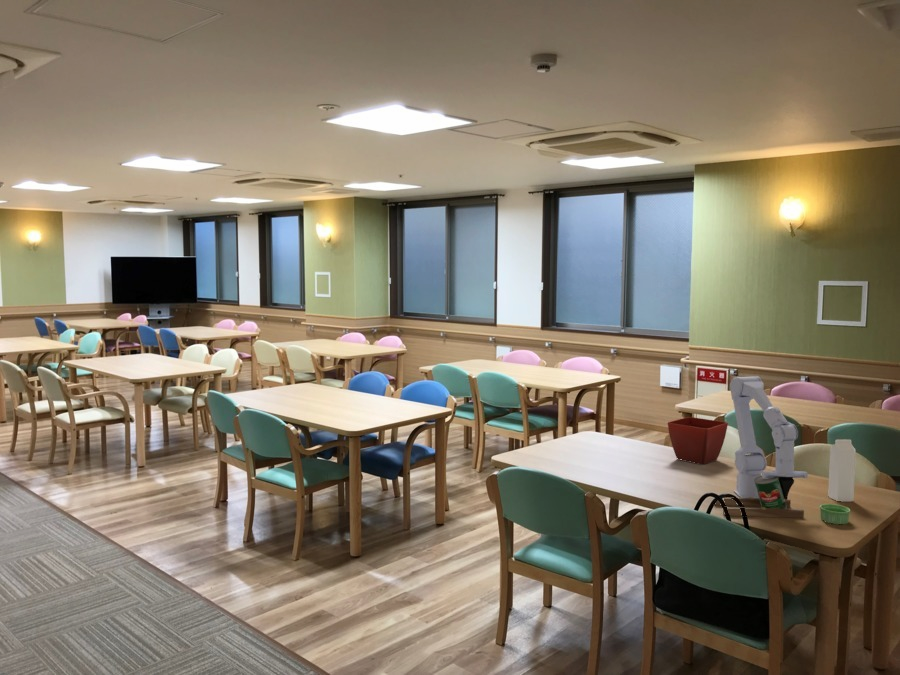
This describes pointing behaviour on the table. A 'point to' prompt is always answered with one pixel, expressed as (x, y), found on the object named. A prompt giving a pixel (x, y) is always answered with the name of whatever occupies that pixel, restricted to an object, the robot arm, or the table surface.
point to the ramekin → (834, 513)
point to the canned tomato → (770, 492)
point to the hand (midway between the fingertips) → (784, 498)
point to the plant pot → (697, 439)
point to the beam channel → (760, 509)
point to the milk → (842, 470)
